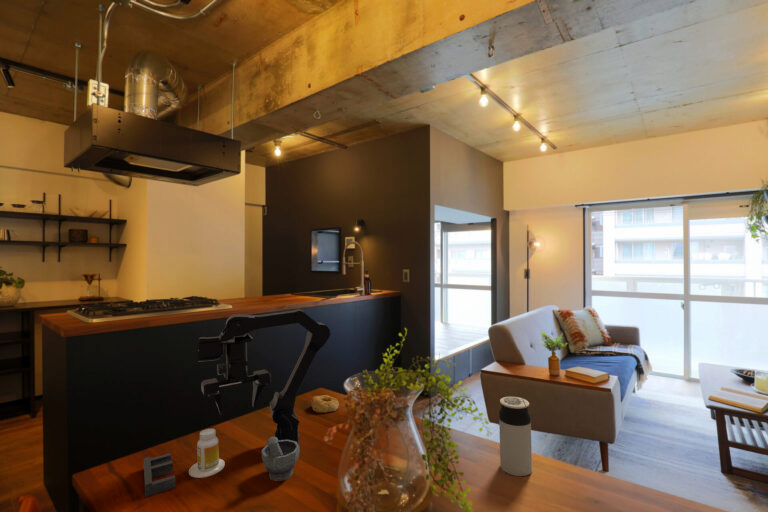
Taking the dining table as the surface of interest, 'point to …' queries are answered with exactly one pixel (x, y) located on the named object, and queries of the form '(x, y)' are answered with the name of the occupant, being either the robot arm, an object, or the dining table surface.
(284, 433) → the robot arm
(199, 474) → the coaster
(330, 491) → the dining table surface
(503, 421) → the travel mug
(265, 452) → the mortar and pestle
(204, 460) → the supplement bottle
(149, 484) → the rail
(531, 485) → the dining table surface
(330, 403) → the bagel
